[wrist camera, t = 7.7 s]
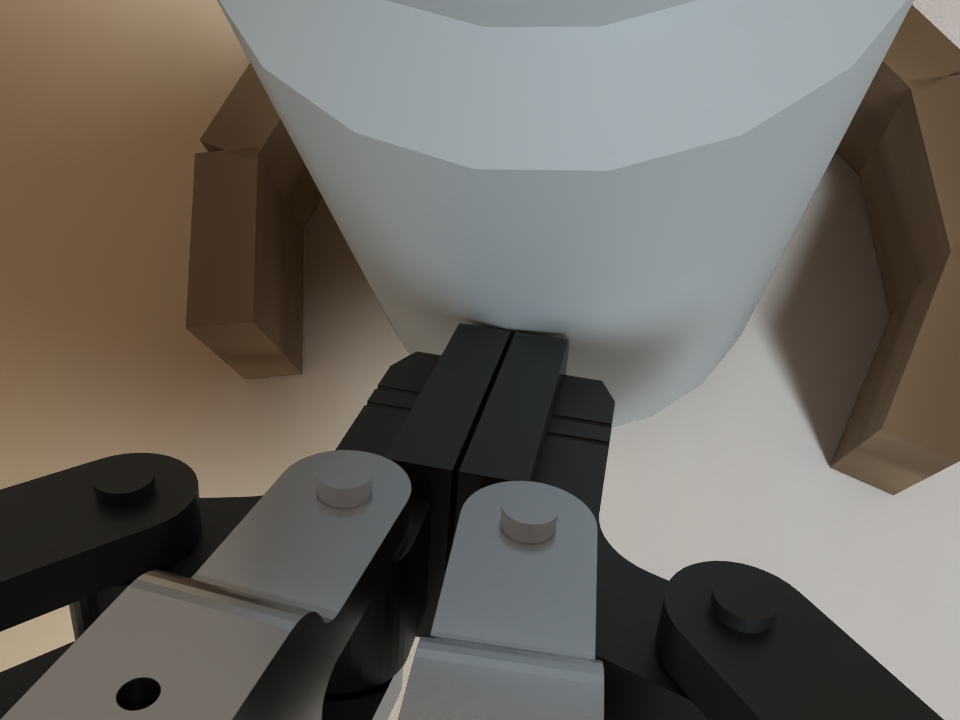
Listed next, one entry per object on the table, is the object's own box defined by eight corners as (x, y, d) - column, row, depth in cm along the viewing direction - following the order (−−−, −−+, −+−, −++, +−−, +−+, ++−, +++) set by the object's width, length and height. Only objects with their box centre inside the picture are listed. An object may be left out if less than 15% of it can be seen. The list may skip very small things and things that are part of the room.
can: (574, 52, 20) (579, -715, 9) (830, 274, 18) (1267, -377, 7) (316, 262, 19) (-47, -308, 8) (555, 525, 17) (521, 253, 6)
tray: (803, -85, 21) (839, -203, 18) (1051, 455, 17) (1150, 413, 14) (198, 73, 21) (140, -18, 18) (285, 646, 17) (227, 643, 14)
